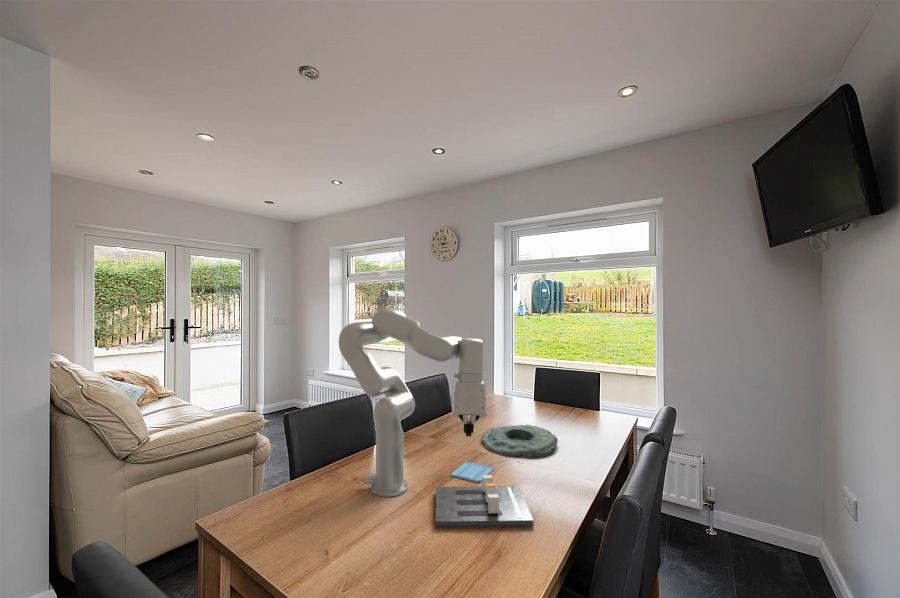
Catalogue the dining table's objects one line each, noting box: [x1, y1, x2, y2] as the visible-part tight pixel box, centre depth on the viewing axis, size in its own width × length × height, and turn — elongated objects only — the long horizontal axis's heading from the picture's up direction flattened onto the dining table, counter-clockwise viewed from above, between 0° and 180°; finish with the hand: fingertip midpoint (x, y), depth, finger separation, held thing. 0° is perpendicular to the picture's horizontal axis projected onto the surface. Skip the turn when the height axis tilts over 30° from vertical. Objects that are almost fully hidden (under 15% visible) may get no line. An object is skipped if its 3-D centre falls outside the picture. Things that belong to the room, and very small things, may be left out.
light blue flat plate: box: [450, 461, 495, 484], centre depth 148 cm, size 14×12×1 cm
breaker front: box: [488, 494, 499, 513], centre depth 115 cm, size 3×2×5 cm, turn 92°
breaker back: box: [482, 474, 494, 492], centre depth 128 cm, size 3×2×5 cm, turn 92°
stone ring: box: [481, 424, 559, 459], centre depth 180 cm, size 34×34×5 cm
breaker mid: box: [485, 482, 497, 502], centre depth 122 cm, size 3×2×5 cm, turn 92°
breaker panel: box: [435, 485, 534, 530], centre depth 122 cm, size 28×21×2 cm
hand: (468, 435), depth 124 cm, fingers closed
